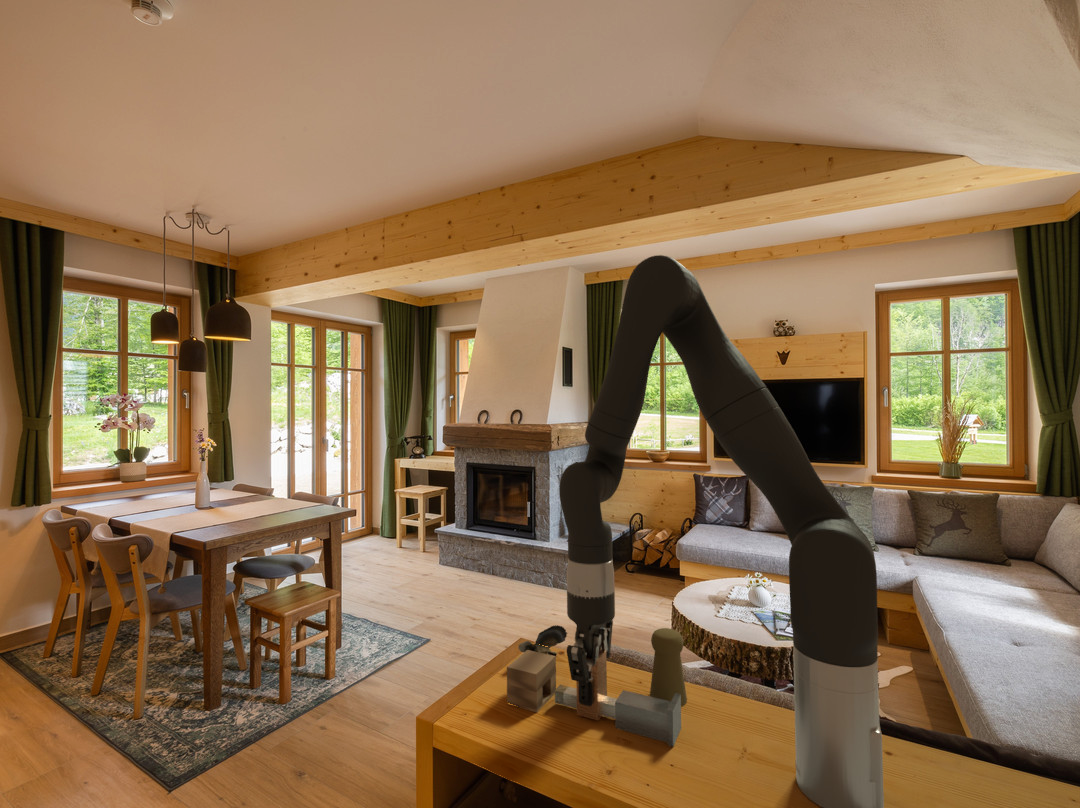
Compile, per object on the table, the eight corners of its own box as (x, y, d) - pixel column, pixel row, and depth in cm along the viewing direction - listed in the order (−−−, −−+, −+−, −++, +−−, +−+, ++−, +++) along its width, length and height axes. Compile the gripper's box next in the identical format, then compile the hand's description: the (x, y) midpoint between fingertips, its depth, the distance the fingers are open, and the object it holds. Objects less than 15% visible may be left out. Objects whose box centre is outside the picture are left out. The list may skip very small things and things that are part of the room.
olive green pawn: (688, 710, 83) (687, 640, 84) (649, 706, 85) (648, 637, 85) (685, 690, 89) (684, 625, 90) (649, 687, 90) (648, 622, 91)
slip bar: (671, 724, 79) (670, 663, 79) (665, 738, 75) (663, 675, 75) (563, 695, 87) (562, 641, 87) (552, 707, 83) (551, 650, 84)
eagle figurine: (560, 671, 94) (576, 642, 102) (537, 637, 95) (555, 611, 103) (529, 685, 97) (547, 656, 106) (507, 652, 98) (527, 625, 106)
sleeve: (681, 728, 79) (680, 694, 79) (673, 746, 74) (672, 711, 74) (624, 713, 83) (624, 681, 83) (614, 730, 78) (613, 696, 78)
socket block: (556, 691, 89) (555, 656, 89) (536, 712, 83) (536, 674, 83) (527, 684, 92) (527, 649, 92) (507, 704, 86) (506, 666, 86)
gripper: (596, 605, 75) (597, 727, 75) (627, 577, 88) (629, 681, 87) (549, 597, 78) (550, 713, 78) (585, 572, 91) (587, 672, 91)
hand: (592, 696), depth 83 cm, fingers closed on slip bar, 4 cm apart
